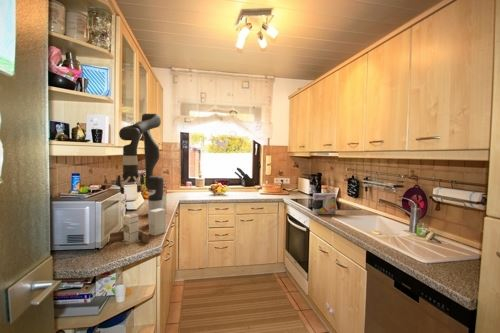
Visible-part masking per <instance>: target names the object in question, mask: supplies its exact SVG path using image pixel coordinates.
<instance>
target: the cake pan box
mask: <svg viewBox="0 0 500 333" xmlns="http://www.w3.org/2000/svg"><path fill="white" fill-rule="evenodd" d="M336 201H337V194H336V193H334V192H319V193H316V192H315V193H312V214H313V215H314V216H317V215H318V214H331V215H336V208H337V207H336ZM318 216H319V215H318Z"/></svg>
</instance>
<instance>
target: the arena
mask: <svg viewBox="0 0 500 333" xmlns="http://www.w3.org/2000/svg"><path fill="white" fill-rule="evenodd" d="M120 241H121V242H123V243H124V244H125V245H130V244H134V243H138V242H144V243H145V244H148V245H149V244H150V234H149V232H148V233H147V232H146V231H144V230H142V229H140V228H138V240H136V241H133V242H127V241H124V231H123V230H122V231H120V230H119V231H115V232H110V239H109V242H108V241H107V243H108V244H111V243H117V242H120Z"/></svg>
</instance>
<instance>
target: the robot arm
mask: <svg viewBox="0 0 500 333" xmlns="http://www.w3.org/2000/svg"><path fill="white" fill-rule="evenodd" d="M161 123H162V119H161V117H160V115H159V114H158V113H143V114H142V115H141V121H137V122H135V123H133V124H132V125H127V126H123V127H121V129H120V130H119V131H118V135H119V136H118V137H119V138H120V139H121V140H122V141H130V143H129V144H125V145H123V146H122V154H123V155H122V175H121V174H117V175H116V177H115V179H116V180H115V181H116V183H115V186H116V187H119V192H120V195H124V194H125V187H124V186H125V185H126V184H127V183H135V184H136V193H140V192H141V191H142V187H141V186H144V184H145V188H146V190H147V191H148V190H156V191H155V193H154V194H153V195H150V196H148V195H147V196H148V197H147V202H148V204H147V206H148V208H147V211H148V212H147V213H148V214H147V215H148V216H147V219H148V220H147V221H148V226H149V211H150V210H154V209H158V208H161V209H163V208H162V197H163V188H164V179H163V176H155V175H153V174H154V169H155V166H156V165H157V163H158V161H159V160H160V148H159V145H158V144H157V142H156V140H155V139H154V138H153V136H152V134H151V130H154V129H155V128H159V127H160V126H161ZM141 135H143V143H144V144H143V146H144V147H143V149H144V151H143V152H144V159H145V160H144V162H145V172H144V173H145V175H144V174H143V173H138V172H139V171H138V168H139V166H138V164H139V159H138V146H139V144H140V143H139V142H140V138H141ZM138 178H139V179H140V180H139V179H138ZM121 180H122V181H121Z"/></svg>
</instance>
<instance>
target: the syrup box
mask: <svg viewBox="0 0 500 333" xmlns="http://www.w3.org/2000/svg"><path fill="white" fill-rule="evenodd" d="M122 222H123V227H122V231H124V241H127V242H133V241H136V240H138V229H139V215H138V214H137V213H136V214H135V213H127V214H124V215H122Z"/></svg>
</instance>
